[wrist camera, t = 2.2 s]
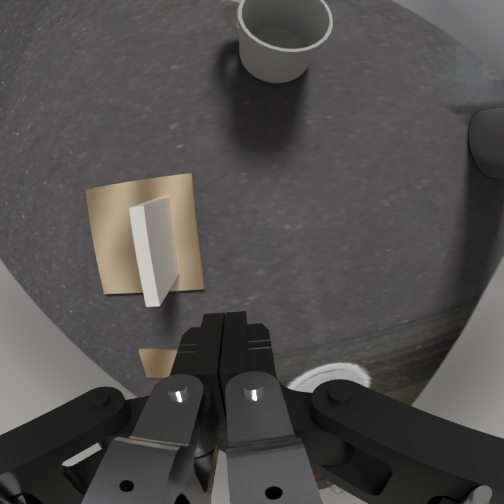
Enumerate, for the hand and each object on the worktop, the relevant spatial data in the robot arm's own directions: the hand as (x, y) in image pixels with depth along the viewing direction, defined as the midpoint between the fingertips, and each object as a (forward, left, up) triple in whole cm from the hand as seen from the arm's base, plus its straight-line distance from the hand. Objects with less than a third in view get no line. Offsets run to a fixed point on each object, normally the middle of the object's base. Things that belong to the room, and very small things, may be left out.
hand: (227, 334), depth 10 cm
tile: (+7, 0, -19) cm, 21 cm away
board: (+10, 0, -20) cm, 22 cm away
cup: (-4, -19, -20) cm, 28 cm away
